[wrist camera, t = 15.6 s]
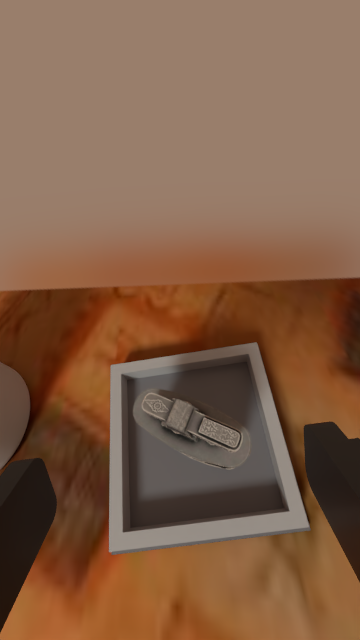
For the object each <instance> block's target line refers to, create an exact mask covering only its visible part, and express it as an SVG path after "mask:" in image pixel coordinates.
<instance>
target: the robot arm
mask: <svg viewBox="0 0 360 640" xmlns="http://www.w3.org/2000/svg"><path fill="white" fill-rule="evenodd" d="M304 446H305V466H306V473H307V477H308V481H309V484H310V487H311V489H312V491H313V493H314V495H315V497H316V499H317V501H318V503H319V505H320V507H321V509H322V511H323V512H324V514H325V516H326V518H327V520H328V522H329V524H330V526H331V528H332V530H333V532H334V534H335V536H336V537H337V539H338V541H339V543H340V545H341V547H342V549H343V551H344V553H345V555H346V557H347V559H348V560H349V562H350V564H351V566H352V568H353V570H354V572H355V574H356V576H357V578H358V580H359V582H360V439H359V438H355V439H348V438H347V437H346V436H345V435H344V433H343V432H342V431H341V430H340V429H339V427H338V426H337V425H336V424H335V423H334V422H323V423H315V424H308V425H305V426H304ZM56 506H57V501H56V495H55V492H54V489H53V487H52V484H51V481H50V478H49V475H48V472H47V469H46V467H45V464H44V462H43V460H42V459H40V458H34V459H26V460H18V461H14V462H12V463H11V464H10V465H9V466H8V467H7V468H6V469H5V471H4V472H3V473H2V474H1V476H0V632H1V630H2V628H3V626H4V624H5V622H6V620H7V617H8V615H9V613H10V611H11V609H12V607H13V605H14V603H15V600H16V598H17V596H18V594H19V592H20V590H21V588H22V586H23V584H24V581H25V579H26V577H27V575H28V573H29V571H30V569H31V567H32V564H33V562H34V560H35V558H36V556H37V554H38V552H39V550H40V547H41V545H42V543H43V541H44V539H45V537H46V535H47V533H48V531H49V528H50V526H51V524H52V522H53V520H54V517H55V513H56Z"/></svg>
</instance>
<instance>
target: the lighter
mask: <svg viewBox="0 0 360 640" xmlns="http://www.w3.org/2000/svg"><path fill="white" fill-rule="evenodd" d="M133 416H134V419H135V421H136V422H137V423H138V424H139V425H140V426H141V427H142V428H144V429H145V430H146V431H148V432H149V433H150V434H151V435H153V436H154V437H155V438H157V439H158V440H160V441H162V442H164V443H165V444H167V445H169V446H170V447H172V448H174V449H175V450H177V451H179V452H181V453H182V454H184V455H186V456H187V457H189V458H191V459H194V460H197V461H199V462H202V463H204V464H207V465H210V466H214V467H218V468H222V469H226V470H231V469H233V468H236V467H238V466H240V465H242V464H243V463H244V462H245V461H246V460H247V459H248V457H249V455H250V453H251V446H252V442H251V436H250V434H249V432H248V430H247V429H246V428H245V427H244V426H243V425H242V424H240V423H239V422H237V421H236V420H234V419H233V418H231V417H230V416H228V415H226V414H225V413H223V412H222V411H220V410H218V409H216V408H214V407H212V406H210V405H208V404H206V403H204V402H202V401H200V400H198V399H195V398H192V397H189V396H186V395H183V394H180V393H177V392H172V391H167V390H162V389H157V388H149V389H147V390H144V391H143V392H142V393H141V394H140V395H139V396H138V397H137V399H136V400H135V403H134V406H133Z"/></svg>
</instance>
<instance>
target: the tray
mask: <svg viewBox="0 0 360 640" xmlns="http://www.w3.org/2000/svg"><path fill="white" fill-rule="evenodd" d="M149 388H157V389H162V390H167V391H172V392H177V393H180V394H183V395H186V396H189V397H192V398H195V399H198V400H200V401H202V402H204V403H206V404H208V405H210V406H212V407H214V408H216V409H218V410H220V411H222V412H223V413H225V414H226V415H228V416H230V417H231V418H233V419H234V420H236V421H237V422H239V423H240V424H242V425H243V426H244V427H245V428H246V429H247V430H248V432H249V434H250V436H251V442H252V446H251V453H250V455H249V457H248V459H247V460H246V461H245V462H244V463H243V464H242V465H240V466H238V467H236V468H233V469H231V470H226V469H222V468H218V467H214V466H210V465H207V464H204V463H202V462H199V461H197V460H194V459H191V458H189V457H187V456H186V455H184V454H182V453H181V452H179V451H177V450H175V449H174V448H172V447H170V446H169V445H167V444H165V443H164V442H162V441H160V440H158V439H157V438H155V437H154V436H153V435H151V434H150V433H149V432H148V431H146V430H145V429H144V428H142V427H141V426H140V425H139V424H138V423H137V422H136V421H135V419H134V416H133V406H134V403H135V400H136V399H137V397H138V396H139V395H140V394H141V393H142V392H143V391H144V390H147V389H149ZM309 530H311V529H310V526H309V522H308V519H307V515H306V512H305V508H304V505H303V501H302V498H301V494H300V491H299V487H298V484H297V480H296V477H295V473H294V470H293V466H292V463H291V459H290V456H289V452H288V449H287V445H286V442H285V438H284V435H283V431H282V427H281V424H280V420H279V417H278V413H277V410H276V406H275V403H274V399H273V396H272V392H271V389H270V385H269V382H268V378H267V375H266V371H265V368H264V364H263V361H262V357H261V354H260V350H259V347H258V345H257V342H255V343H249V344H242V345H236V346H230V347H223V348H217V349H211V350H204V351H198V352H191V353H185V354H179V355H172V356H166V357H160V358H153V359H147V360H141V361H134V362H128V363H122V364H115V365H111V394H110V501H109V552H112V555H114V554H123V553H131V552H139V551H147V550H155V549H163V548H171V547H179V546H187V545H195V544H203V543H212V542H220V541H228V540H236V539H244V538H252V537H260V536H268V535H276V534H284V533H293V532H301V531H309Z"/></svg>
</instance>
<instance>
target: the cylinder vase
mask: <svg viewBox="0 0 360 640" xmlns="http://www.w3.org/2000/svg"><path fill="white" fill-rule="evenodd" d="M29 415H30V396H29V391H28V388H27V385H26V383H25V381H24V380H23V378H22V377H21V376H20V374H19V373H18V372H16V371H15V370H14V369H12V368H11V367H9V366H7V365H5V364H3V363H1V362H0V470H1V469H2V467H3V466H4V465H5V464H6V463H7V462H8V461H9V459H10V458H11V457H12V455H13V454H14V452H15V451H16V449H17V447H18V446H19V444H20V442H21V440H22V438H23V436H24V433H25V430H26V428H27V424H28V420H29Z"/></svg>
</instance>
